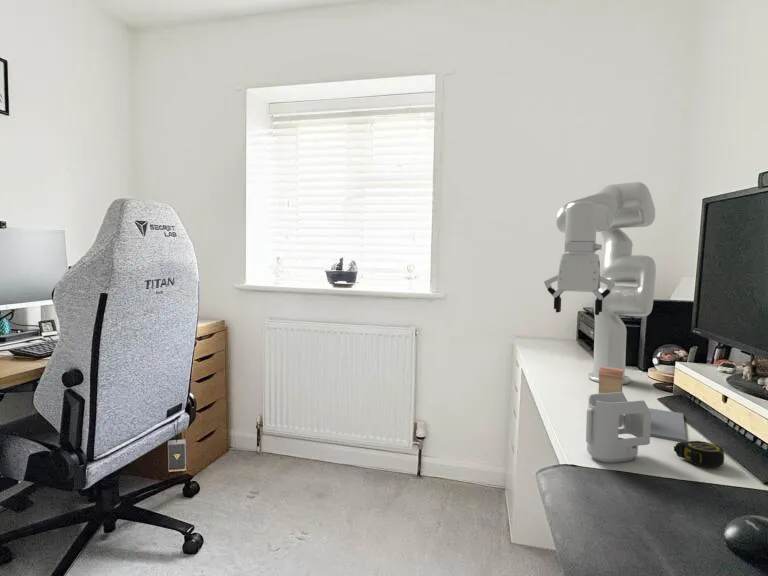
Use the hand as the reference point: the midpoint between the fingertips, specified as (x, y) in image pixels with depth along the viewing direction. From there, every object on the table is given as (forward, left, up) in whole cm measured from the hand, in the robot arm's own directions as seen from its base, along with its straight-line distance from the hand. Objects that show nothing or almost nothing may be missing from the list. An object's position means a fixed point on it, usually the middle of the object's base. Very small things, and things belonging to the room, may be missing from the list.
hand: (577, 313), depth 118 cm
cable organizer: (+27, +13, -26) cm, 39 cm away
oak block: (+1, +9, -26) cm, 27 cm away
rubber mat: (+1, +19, -26) cm, 32 cm away
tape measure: (+20, +26, -26) cm, 42 cm away
